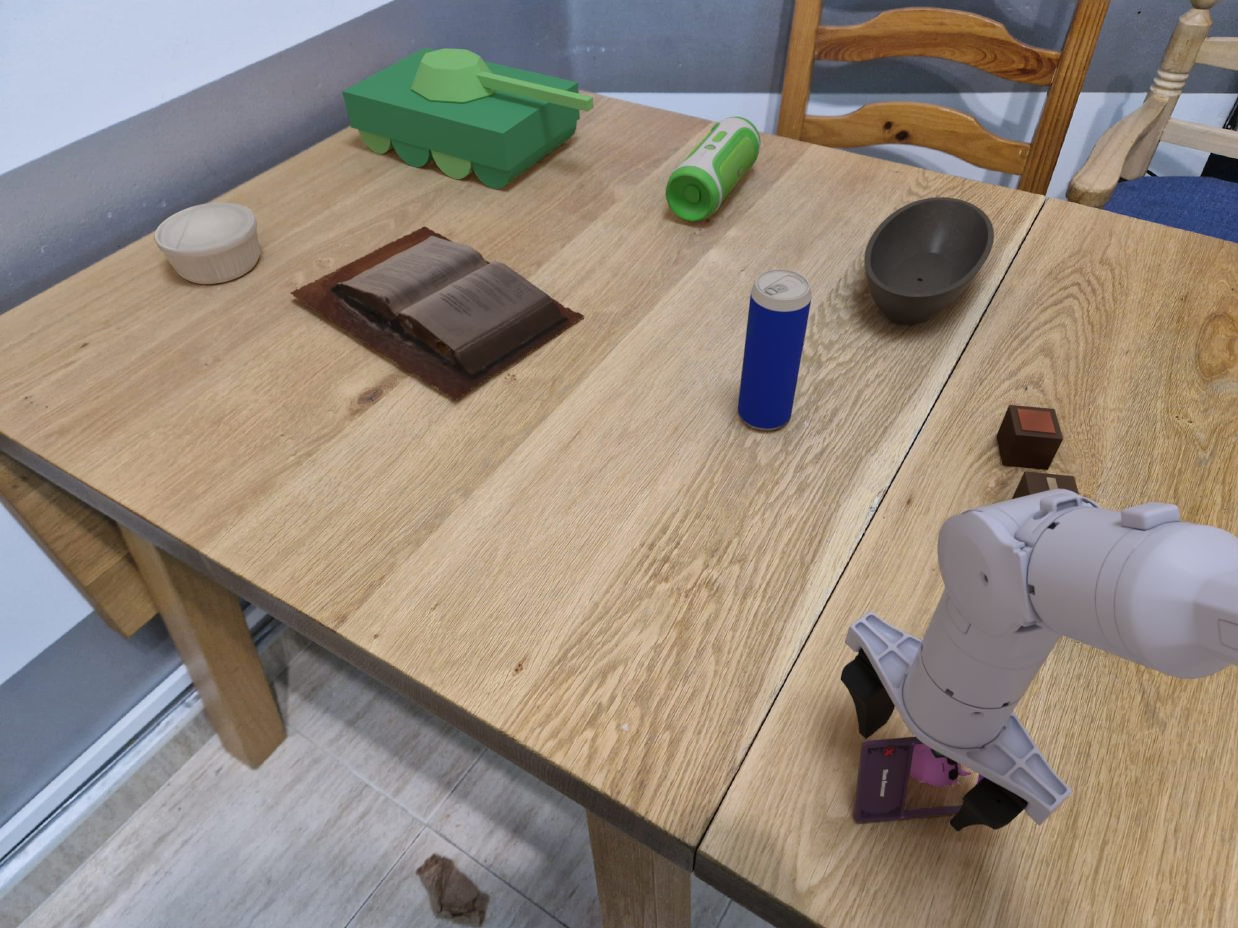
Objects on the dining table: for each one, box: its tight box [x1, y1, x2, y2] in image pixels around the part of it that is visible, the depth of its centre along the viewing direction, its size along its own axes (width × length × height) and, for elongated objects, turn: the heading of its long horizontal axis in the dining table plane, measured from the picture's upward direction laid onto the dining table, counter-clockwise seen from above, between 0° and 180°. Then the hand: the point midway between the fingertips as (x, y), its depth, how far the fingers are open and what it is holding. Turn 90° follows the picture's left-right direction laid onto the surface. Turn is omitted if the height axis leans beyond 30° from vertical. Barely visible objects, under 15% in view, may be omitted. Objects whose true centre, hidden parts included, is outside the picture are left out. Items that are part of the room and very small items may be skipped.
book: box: [290, 226, 585, 401], centre depth 96 cm, size 20×28×4 cm
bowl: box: [863, 196, 995, 326], centre depth 96 cm, size 12×22×6 cm, turn 148°
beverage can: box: [737, 268, 813, 431], centre depth 78 cm, size 5×5×15 cm
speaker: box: [665, 116, 761, 223], centre depth 111 cm, size 18×7×8 cm, turn 154°
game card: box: [852, 736, 984, 824], centre depth 56 cm, size 7×5×9 cm
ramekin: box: [153, 201, 261, 285], centre depth 102 cm, size 11×11×5 cm
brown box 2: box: [1011, 470, 1080, 499], centre depth 72 cm, size 4×4×4 cm
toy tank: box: [342, 47, 594, 190], centre depth 119 cm, size 18×12×35 cm
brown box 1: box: [995, 404, 1064, 471], centre depth 78 cm, size 4×4×4 cm
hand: (916, 771), depth 57 cm, fingers open, 7 cm apart
